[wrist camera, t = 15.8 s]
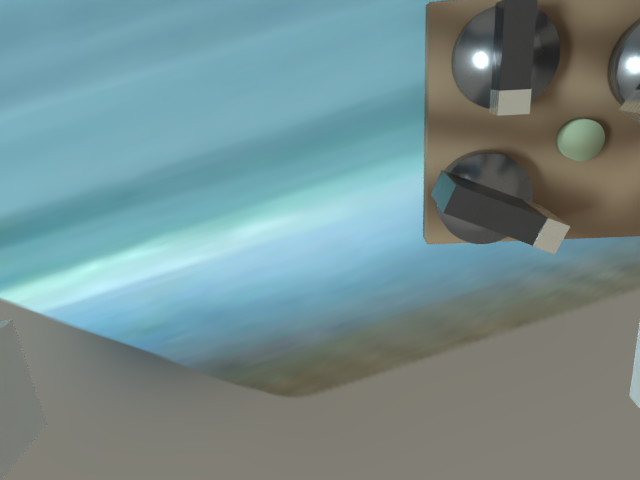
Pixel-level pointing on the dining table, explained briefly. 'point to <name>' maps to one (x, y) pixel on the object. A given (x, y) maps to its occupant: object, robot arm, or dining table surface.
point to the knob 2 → (494, 203)
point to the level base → (543, 121)
